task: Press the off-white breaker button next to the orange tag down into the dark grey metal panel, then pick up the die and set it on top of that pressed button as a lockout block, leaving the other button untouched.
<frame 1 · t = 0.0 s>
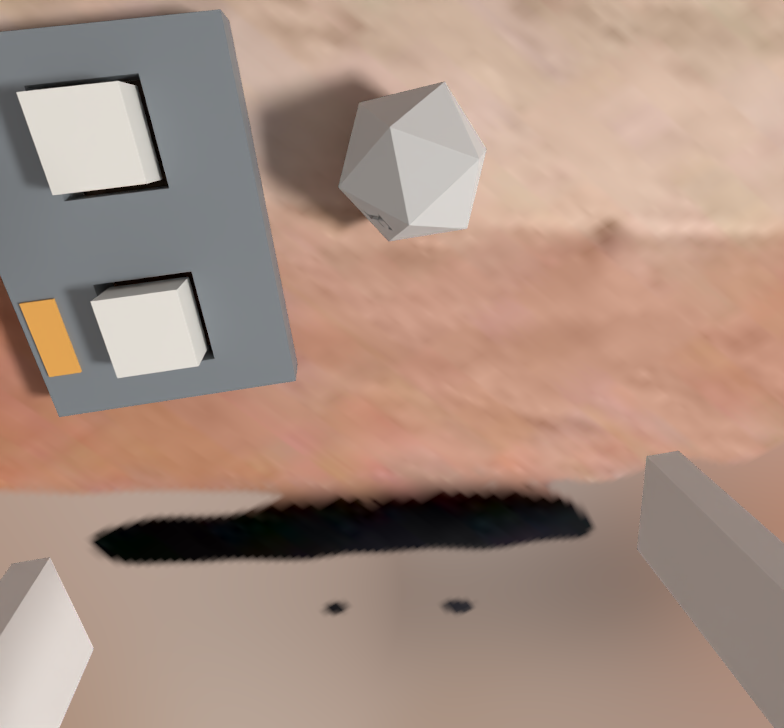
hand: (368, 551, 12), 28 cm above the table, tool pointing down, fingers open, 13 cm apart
breaker panel: (144, 229, 35), on the table
tagged button: (153, 326, 34), point 4 cm above the table, slide at 0.0 cm
other button: (96, 139, 29), point 4 cm above the table, slide at 0.0 cm
die: (404, 164, 36), on the table
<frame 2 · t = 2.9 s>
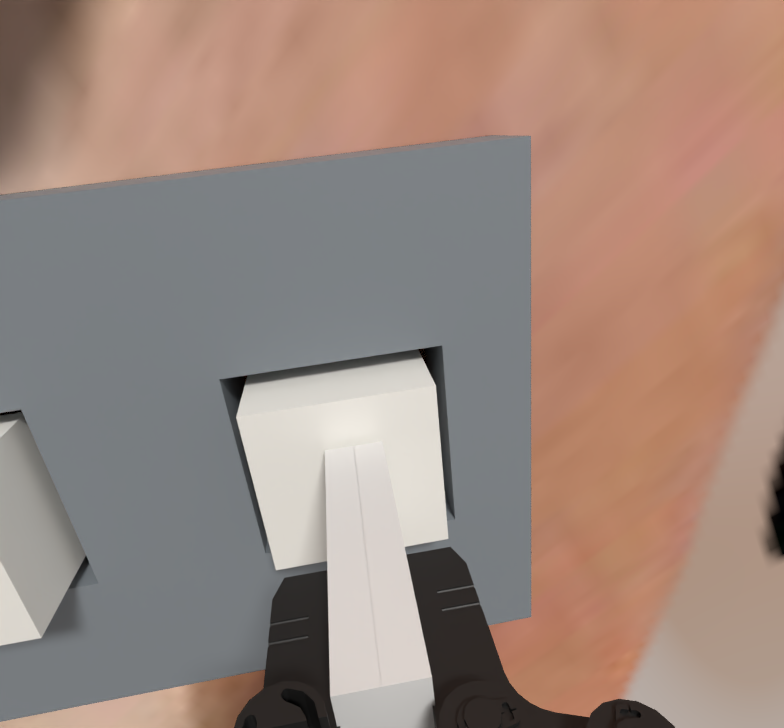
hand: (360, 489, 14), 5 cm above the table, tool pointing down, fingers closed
breaker panel: (179, 434, 18), on the table
tagged button: (347, 450, 16), point 3 cm above the table, slide at 0.9 cm, touching gripper
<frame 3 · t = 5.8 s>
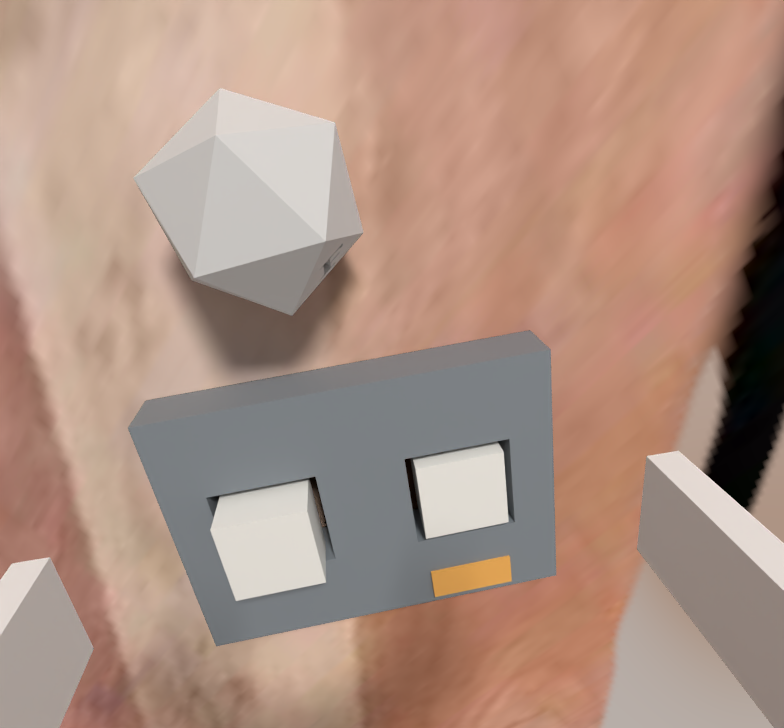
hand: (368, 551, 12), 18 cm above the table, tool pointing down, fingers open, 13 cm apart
breaker panel: (364, 479, 33), on the table
tagged button: (457, 480, 32), point 2 cm above the table, slide at 1.8 cm
other button: (272, 536, 30), point 4 cm above the table, slide at 0.0 cm
die: (266, 197, 26), on the table
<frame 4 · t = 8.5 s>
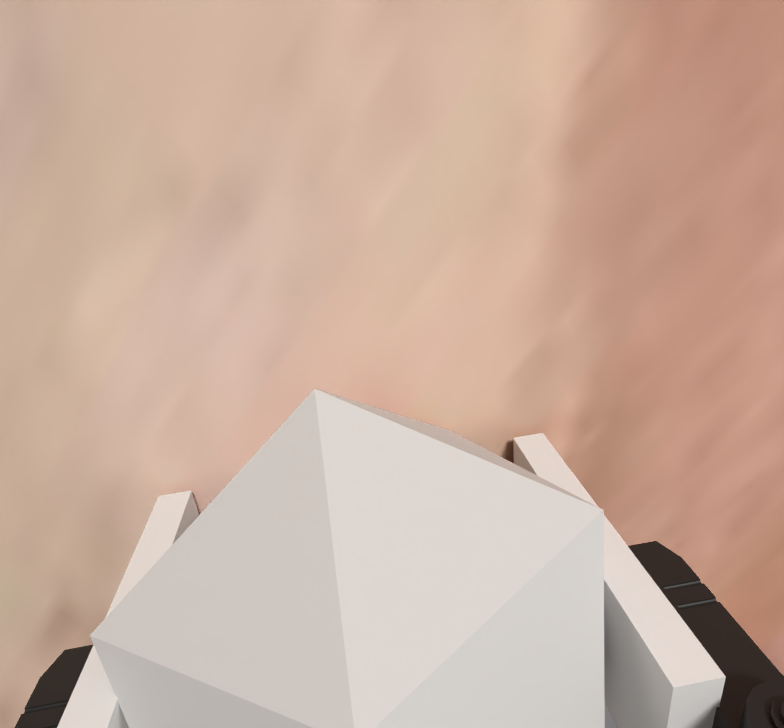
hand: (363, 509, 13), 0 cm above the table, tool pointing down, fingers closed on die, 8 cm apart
die: (360, 496, 14), on the table, touching gripper
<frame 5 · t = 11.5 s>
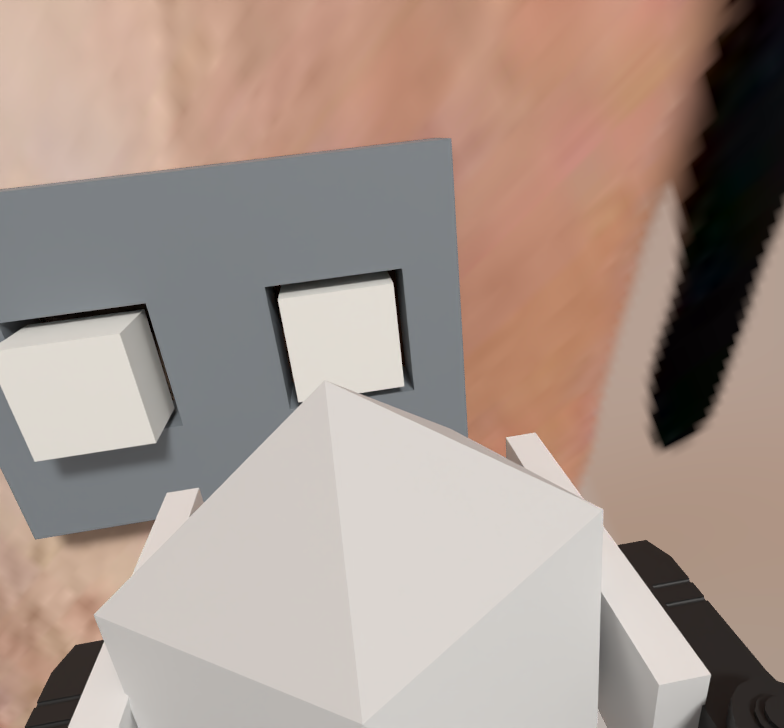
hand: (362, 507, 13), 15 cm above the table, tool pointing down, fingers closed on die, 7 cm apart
breaker panel: (231, 336, 27), on the table
tagged button: (342, 332, 25), point 2 cm above the table, slide at 1.8 cm
other button: (90, 383, 23), point 4 cm above the table, slide at 0.0 cm
die: (359, 490, 14), point 14 cm above the table, touching gripper
when the fingers open (5 cm above the table, at t = 13.7 s): die drops 1 cm, resting on tagged button.
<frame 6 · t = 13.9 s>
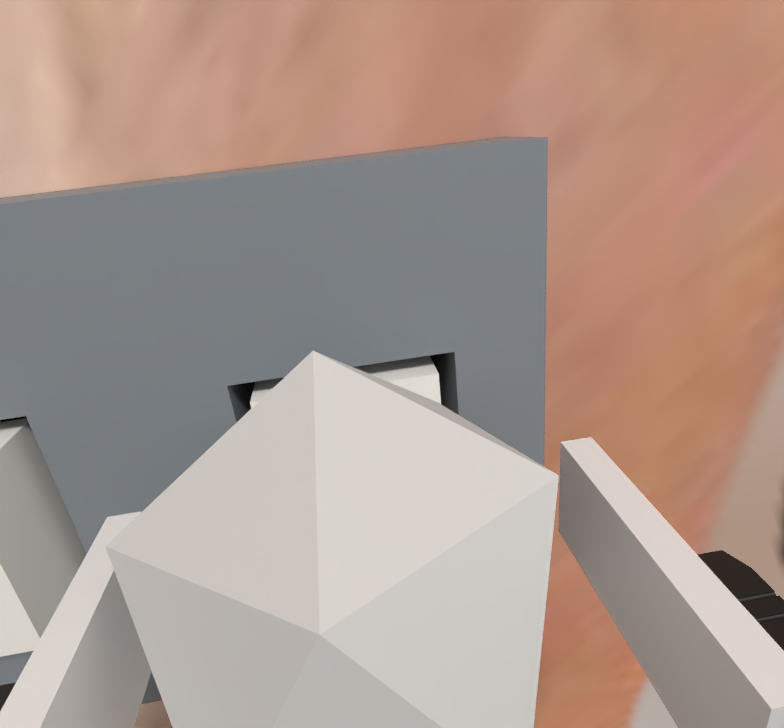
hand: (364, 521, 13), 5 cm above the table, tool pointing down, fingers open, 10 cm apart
breaker panel: (185, 439, 18), on the table
tagged button: (354, 437, 17), point 2 cm above the table, slide at 2.0 cm, touching die
die: (352, 456, 15), point 3 cm above the table, touching tagged button
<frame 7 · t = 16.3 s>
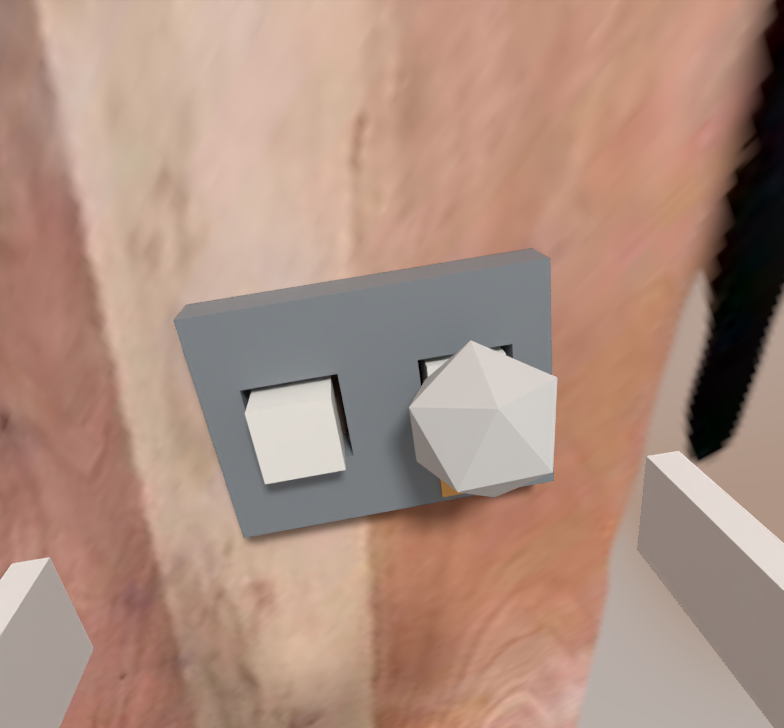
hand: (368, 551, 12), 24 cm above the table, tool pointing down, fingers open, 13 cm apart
breaker panel: (380, 388, 37), on the table
tagged button: (463, 384, 36), point 2 cm above the table, slide at 2.0 cm, touching die
other button: (298, 429, 33), point 4 cm above the table, slide at 0.0 cm
die: (466, 390, 34), point 3 cm above the table, touching tagged button
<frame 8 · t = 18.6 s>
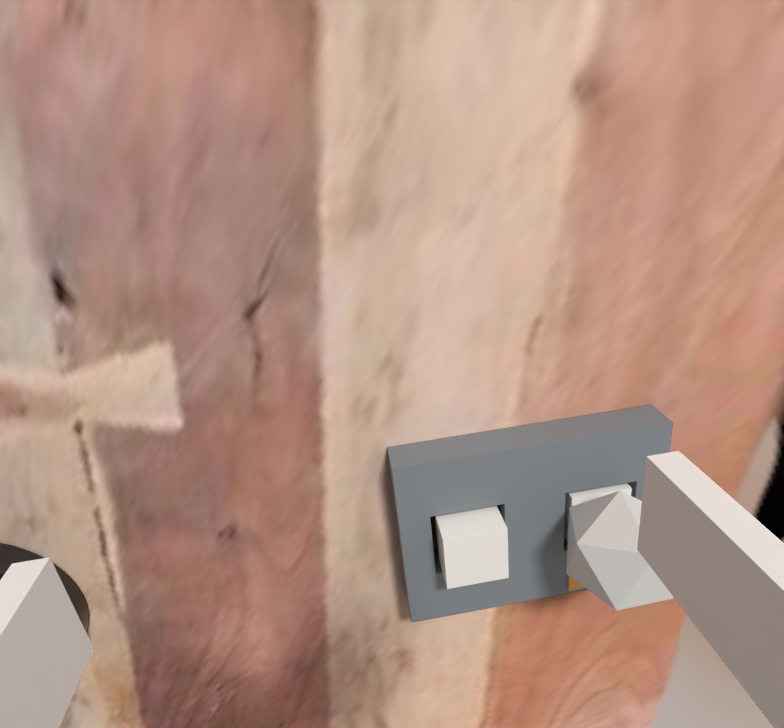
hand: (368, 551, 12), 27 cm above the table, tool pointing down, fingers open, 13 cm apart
breaker panel: (522, 504, 46), on the table
tagged button: (591, 505, 45), point 2 cm above the table, slide at 2.0 cm, touching die
other button: (471, 544, 43), point 4 cm above the table, slide at 0.0 cm
die: (597, 513, 44), point 3 cm above the table, touching tagged button
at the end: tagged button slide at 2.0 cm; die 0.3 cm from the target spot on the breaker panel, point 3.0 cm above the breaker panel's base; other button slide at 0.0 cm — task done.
